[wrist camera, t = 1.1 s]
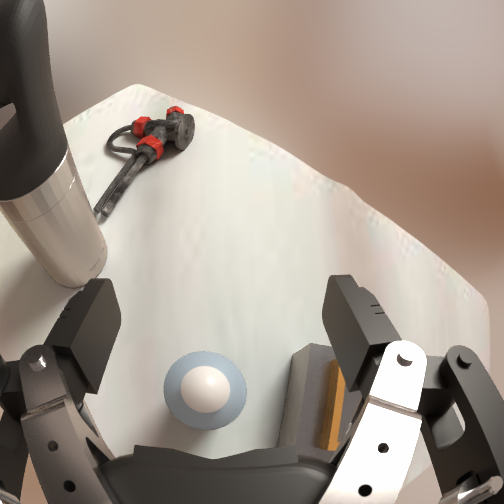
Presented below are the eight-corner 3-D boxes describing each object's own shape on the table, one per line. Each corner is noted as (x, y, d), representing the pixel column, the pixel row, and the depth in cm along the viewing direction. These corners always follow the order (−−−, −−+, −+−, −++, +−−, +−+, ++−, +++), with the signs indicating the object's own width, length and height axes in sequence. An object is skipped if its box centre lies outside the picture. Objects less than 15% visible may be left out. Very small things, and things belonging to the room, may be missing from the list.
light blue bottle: (173, 413, 27) (151, 418, 14) (184, 367, 30) (172, 336, 17) (223, 425, 27) (241, 440, 14) (233, 379, 30) (257, 357, 17)
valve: (142, 120, 53) (206, 126, 51) (67, 213, 40) (136, 233, 38) (135, 95, 48) (203, 98, 46) (50, 188, 35) (121, 204, 33)
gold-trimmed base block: (275, 452, 26) (298, 464, 19) (292, 354, 32) (318, 338, 26) (390, 453, 27) (430, 455, 20) (398, 368, 33) (437, 354, 26)
